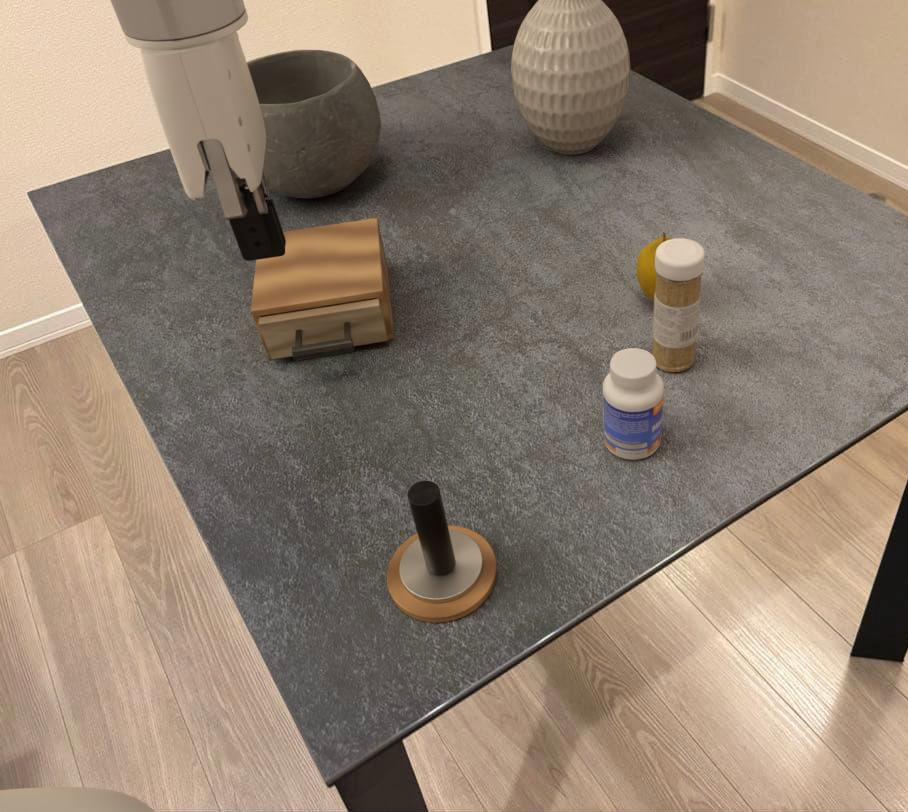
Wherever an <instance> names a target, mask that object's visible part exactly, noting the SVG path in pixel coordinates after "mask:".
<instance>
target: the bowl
mask: <svg viewBox="0 0 908 812" xmlns="http://www.w3.org/2000/svg"><path fill="white" fill-rule="evenodd" d="M246 62H247V65H248V68H249V71H250V74H251V78H252V81H253V84H254V87H255V91H256V94H257V97H258V101H259V105H260V108H261V112H262V116H263V120H264V125H265V131H266V146H265V156H264V164H263V172H264V175H265V178H266V182H267V185H268V189H269V192H272V193H274V194H278V195H281V196H285V197H289V198H295V199H317V198H322V197H326V196H329V195H333V194H336V193H339V192H340V191H342V190H344V189H346V188H347V187H348V186H349V185H350V184H351V183H353V182H354V181H355V180H356V179H357V178H358V177H359V176H360V175H361V174H362V173H364V172H365V171H366V170H367V168H368V167H369V165H370V164H371V162H372V160H373V158H374V156H375V154H376V152H377V149H378V146H379V142H380V137H381V131H382V122H381V115H380V110H379V105H378V101H377V98H376V96H375V93H374V90H373V88H372V85H371V83H370V82H369V80H368V78H367V77H366V76H365V74H364V72H363V71H362V69H361V68H360V67H359V66H358V64H357V63H355V62H354V61H353V60H352V59H351V58H350V57H348V56H346V55H345V54H342V53H339V52H334V51H329V50H324V49H294V50H287V51H282V52H277V53H272V54H268V55H264V56H260V57H257V58H254V59H252V60H249V61H246Z"/></svg>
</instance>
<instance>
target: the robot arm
mask: <svg viewBox="0 0 908 812" xmlns="http://www.w3.org/2000/svg"><path fill="white" fill-rule="evenodd" d="M110 2H111V3H110V4H111V5H112V8H113V9H114V10H113V11H114V13H115V15H116V17H117V20H118V23H119V25H120V28H121V31H122V32H123V35H124V37H125V38H124V39H125V40H126V42H127V43H128V44H129V45H130V46H132V47H135V48H138V49H140V54H141V57H142V62H143V66H144V70H145V74H146V75H145V76H146V78H147V82H148V85H149V89H150V93H151V96H152V99H153V103H154V106H155V109H156V112H157V115H158V118H159V121H160V124H161V127H162V130H163V133H164V136H165V138H166V141H167V142H166V143H167V145H168V148H169V151H170V153H171V156H172V160H173V161H174V165H175V168H176V170H177V173H178V176H179V178H180V182H181V184H182V187H183V190H184V192H185V194H186V196H187V197H188V198H189V199H191V200H192V201H194V202H195V201H200V199H203V198H205V194H206V188H207V184H208V179H209V176H210V180H211V181H212V183H213V186H214V188H215V190H216V193H217V196H218V200H219V202H220V206H221V209H222V213H223V216H224V218H225V220H228V222H229V224H230V227H231V229H232V232H233V235H234V238H235V241H236V243H237V246H238V249H239V251H240V255H241V257H242V259H243V260H244V261H246V262H251V261H256V260H259V259H266V258H272V257H279V256H283V255H284V254H285V246H286V239H285V236H284V233H283V232H284V230H283V226H282V224H281V220H280V217H279V214H278V212H277V208H276V206H275V203H274V199H273V198H271V199H270V191H269V189H268V185H267V182H266V178H265V175H264V172H263V164H264V156H265V146H266V131H265V125H264V120H263V116H262V112H261V108H260V105H259V101H258V97H257V94H256V91H255V87H254V84H253V81H252V78H251V74H250V71H249V68H248V65H247V62H248V61H247V60H246V56H245V53H244V50H243V47H242V44H241V41H240V38H239V34H238V31H240V30H241V28H243V27H244V26H245V25H246V24H247V23H248V20H249V15H248V11H247V9H246V6H245V1H244V0H110ZM0 812H157V810H154V809H153V808H152V807H151V806H150V805H148V804H147V803H146V802H145V801H143V800H141V799H139V798H137V797H135V796H132V795H130V794H127V793H124V792H120V791H117V790H112V789H105V788H96V787H81V786H80V787H79V786H78V787H77V786H41V787H24V788H23V787H22V788H12V789H11V788H10V789H0Z"/></svg>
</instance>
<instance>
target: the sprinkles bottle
mask: <svg viewBox="0 0 908 812" xmlns="http://www.w3.org/2000/svg"><path fill="white" fill-rule="evenodd" d="M705 261H706V250H705V249H704V247H703V246H702V245H701V244H700V243H699V242H697V241H695V240H692V239H689V238H683V237H682V238H681V237H679V238H678V237H677V238H673V239H670V240H667V241H665V242H663V243H661V244H660V245H659V246H658V247H657V249H656V253H655V269H656V289H655V295H654V301H653V318H652V320H653V321H652V336H653V337H652V350H651V354H652V355H653V356H654V358H655V360H656V368H658V369H659V370H662V371H663V372H667V373H681V372H684V371H686V370H688V369H689V368H691V367H692V366H693V365H694V363H695V360H696V353H695V349H696V341H697V340H696V339H697V336H698V328H699V318H700V305H701V296H702V295H701V285H702V284H701V283H702V275H703V272H704V270H705Z"/></svg>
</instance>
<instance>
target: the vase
mask: <svg viewBox="0 0 908 812" xmlns="http://www.w3.org/2000/svg"><path fill="white" fill-rule="evenodd" d="M510 62H511V63H510V64H511V65H510V76H511V86H512V92H513V95H514V98H515V103H516V106H517V108H518V110H519V113H520V116H521V117H522V119H523V121H524V123H526V125H527V127H528V128H529V129H530V130H531V132H532V133H533V134H534V135H535V137H537V139H538V140H539V141H540V142H542V144H544V145H545V146H547V148H549V149H550V150H551V151H552V152H555V153H557V154H561V155H565V156H576V155H582V154H586V153H589V152H590V151H592V150H594V149H595V148H596V147H597V146H598V145H599V144H600V143H601V142H602V141H603V140H604V139H605V138H606V137H607V136H608V135H609V133H610V132H611V131H612V130H613V128H614V127H615V125H616V124H617V122H618V120H619V118H620V117H621V114H622V113H623V110H624V108H625V104H626V102H627V98H628V95H629V90H630V84H631V59H630V49H629V45H628V42H627V38H626V36H625V33H624V31H623V28H622V26H621V24H620V22H619V20H618V18H617V17H616V15H615V14H614V12H613V11H612V10H611V9H610V8H609V6H608V5H607V4H606V3H605V2H604V1H603V0H537V1H536V2H535V4H534V5H533V6H532V8H531V9H530V10H529V11H528V12H527V14H526V16H525V17H524V19H523V20H522V22H521V24H520V26H519V29H518V31H517V34H516V36H515V40H514V43H513V48H512V54H511V61H510Z"/></svg>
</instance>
